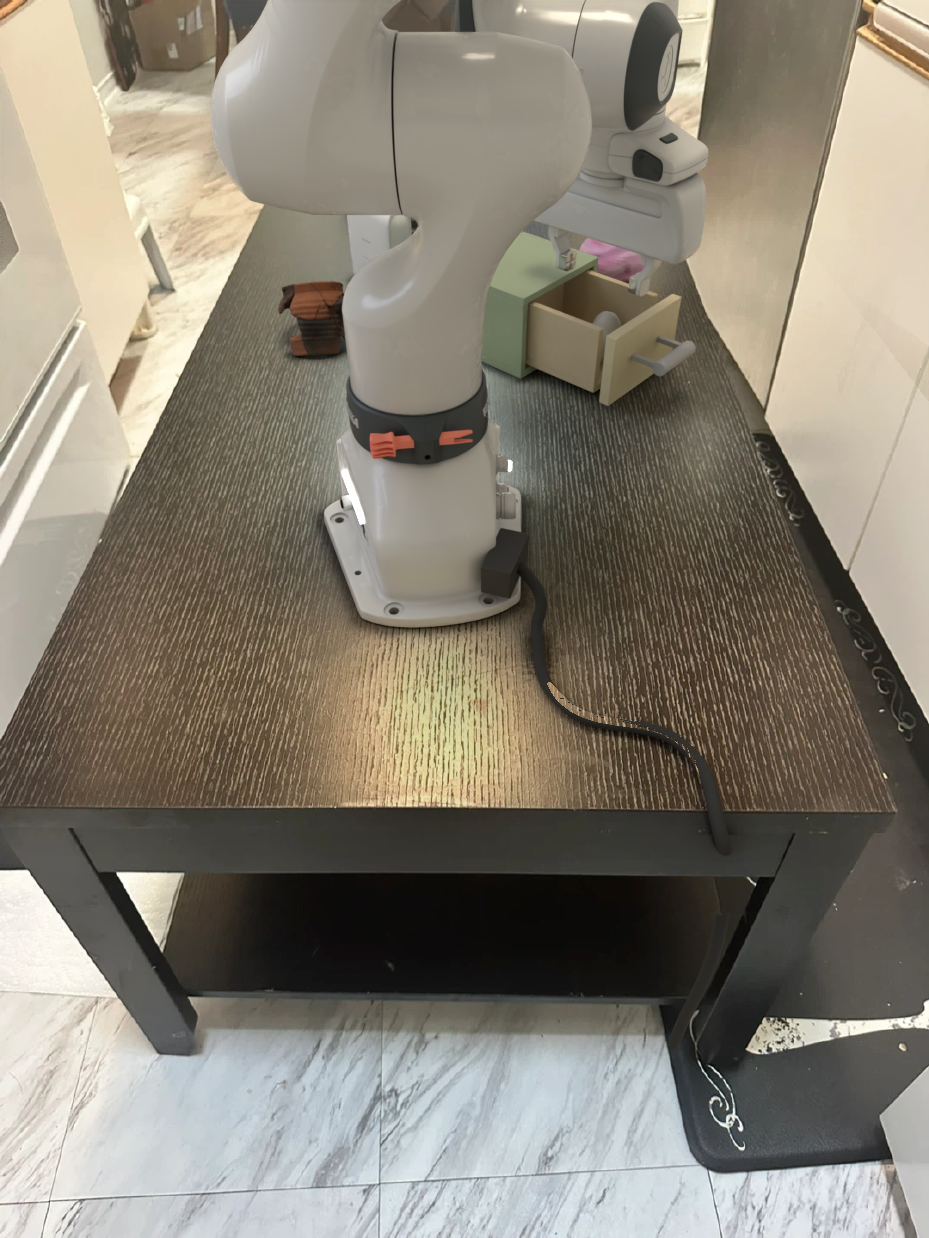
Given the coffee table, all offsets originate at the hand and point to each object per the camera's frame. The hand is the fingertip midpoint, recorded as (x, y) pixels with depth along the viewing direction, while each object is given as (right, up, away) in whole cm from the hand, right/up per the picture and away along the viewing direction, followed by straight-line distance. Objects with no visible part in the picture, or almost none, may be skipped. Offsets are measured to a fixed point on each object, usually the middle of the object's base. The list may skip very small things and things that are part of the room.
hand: (600, 280), depth 94 cm
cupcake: (+4, +3, +19) cm, 19 cm away
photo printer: (-25, +8, +24) cm, 35 cm away
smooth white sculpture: (0, -6, +6) cm, 9 cm away
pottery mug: (-31, -2, +14) cm, 34 cm away
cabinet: (-10, -1, +14) cm, 17 cm away
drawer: (+1, -7, +7) cm, 10 cm away
